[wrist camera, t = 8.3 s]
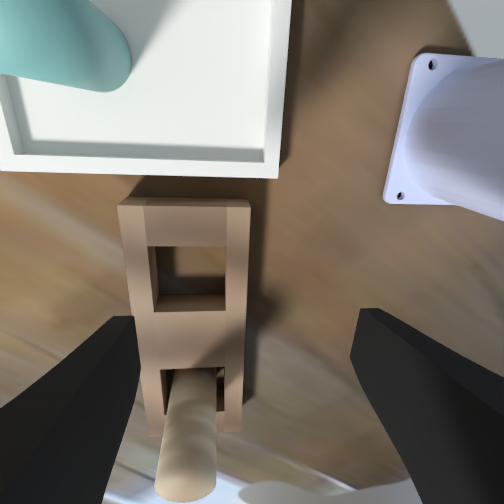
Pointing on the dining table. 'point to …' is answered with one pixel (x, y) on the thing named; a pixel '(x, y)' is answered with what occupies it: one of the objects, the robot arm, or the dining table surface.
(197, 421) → the birch dowel
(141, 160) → the tray
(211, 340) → the rack
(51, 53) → the teal dowel
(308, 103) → the dining table surface
